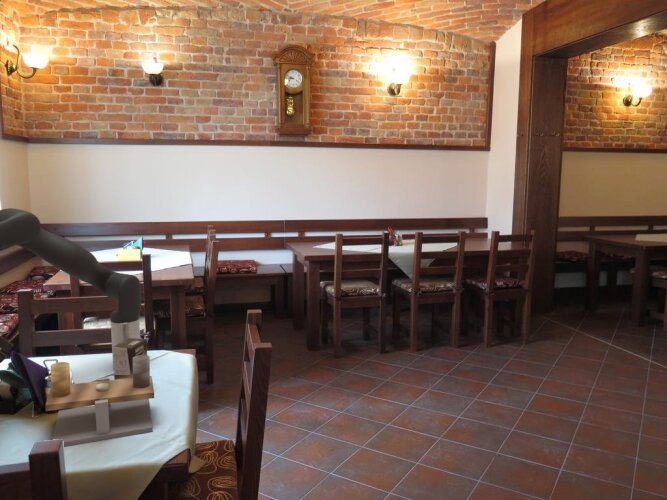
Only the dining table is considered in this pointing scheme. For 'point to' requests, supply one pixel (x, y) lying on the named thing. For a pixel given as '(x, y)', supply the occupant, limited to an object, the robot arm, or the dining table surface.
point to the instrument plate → (99, 387)
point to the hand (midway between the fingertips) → (7, 354)
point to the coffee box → (127, 356)
